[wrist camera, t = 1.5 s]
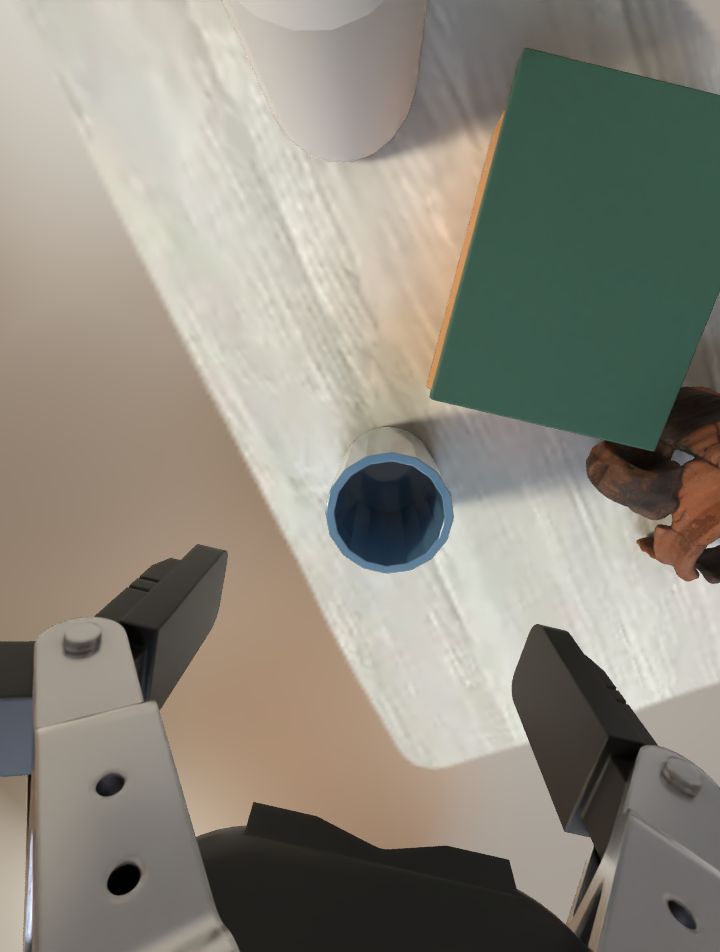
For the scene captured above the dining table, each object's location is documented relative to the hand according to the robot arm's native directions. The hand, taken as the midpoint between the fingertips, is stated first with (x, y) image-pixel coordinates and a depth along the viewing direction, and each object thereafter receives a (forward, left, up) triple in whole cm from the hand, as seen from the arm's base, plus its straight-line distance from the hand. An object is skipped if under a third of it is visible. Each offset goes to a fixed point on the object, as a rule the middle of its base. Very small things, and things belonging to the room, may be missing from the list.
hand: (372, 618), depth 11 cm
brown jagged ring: (-4, +16, -17) cm, 24 cm away
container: (-12, +7, -17) cm, 21 cm away
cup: (0, +1, -17) cm, 17 cm away
